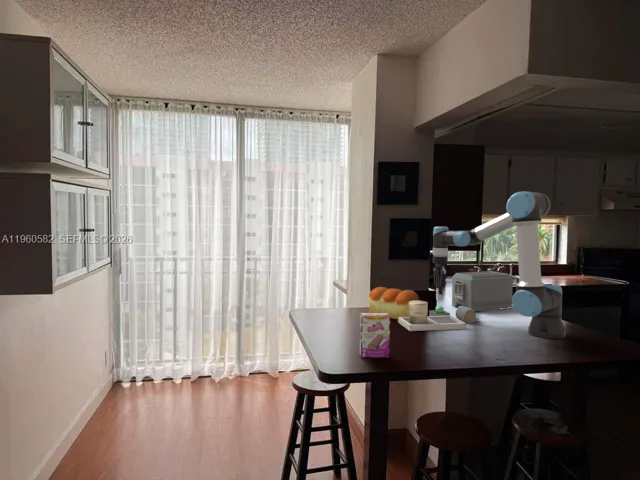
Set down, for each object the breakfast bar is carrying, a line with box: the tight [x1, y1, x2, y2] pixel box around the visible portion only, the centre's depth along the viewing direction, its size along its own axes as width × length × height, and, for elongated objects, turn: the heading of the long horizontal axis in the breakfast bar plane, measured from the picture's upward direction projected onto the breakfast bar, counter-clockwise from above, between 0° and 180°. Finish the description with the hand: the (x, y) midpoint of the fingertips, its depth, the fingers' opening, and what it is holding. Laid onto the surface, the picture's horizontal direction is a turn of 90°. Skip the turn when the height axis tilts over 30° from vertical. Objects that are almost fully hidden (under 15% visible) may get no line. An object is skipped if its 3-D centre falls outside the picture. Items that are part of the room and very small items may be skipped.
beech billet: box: [409, 300, 429, 325], centre depth 213 cm, size 9×9×10 cm
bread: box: [367, 286, 421, 320], centre depth 236 cm, size 25×12×15 cm, turn 49°
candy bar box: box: [359, 312, 391, 359], centre depth 166 cm, size 11×5×16 cm, turn 92°
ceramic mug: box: [455, 306, 480, 324], centre depth 222 cm, size 11×8×8 cm
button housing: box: [428, 309, 451, 316], centre depth 229 cm, size 8×8×4 cm
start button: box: [435, 306, 444, 313], centre depth 229 cm, size 4×4×4 cm
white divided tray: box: [397, 315, 467, 332], centre depth 214 cm, size 17×28×3 cm, turn 98°
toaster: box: [451, 270, 513, 313], centre depth 257 cm, size 19×33×20 cm, turn 110°
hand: (439, 300), depth 229 cm, fingers closed
